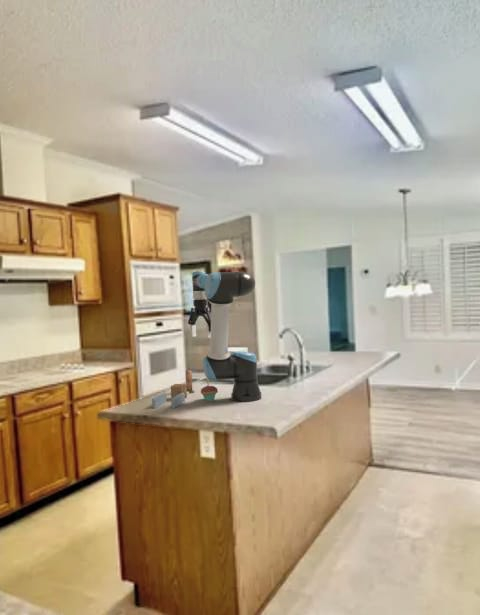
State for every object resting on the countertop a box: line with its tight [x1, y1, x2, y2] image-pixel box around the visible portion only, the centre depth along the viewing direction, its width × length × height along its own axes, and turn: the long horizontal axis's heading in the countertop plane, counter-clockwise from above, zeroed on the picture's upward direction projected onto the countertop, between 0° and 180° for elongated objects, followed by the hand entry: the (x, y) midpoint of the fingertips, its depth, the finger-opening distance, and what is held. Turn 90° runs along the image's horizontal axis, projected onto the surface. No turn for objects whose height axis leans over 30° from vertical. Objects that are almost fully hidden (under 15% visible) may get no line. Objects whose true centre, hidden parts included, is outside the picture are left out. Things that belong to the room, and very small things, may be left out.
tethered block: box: [170, 370, 195, 400], centre depth 256 cm, size 20×6×12 cm, turn 165°
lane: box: [151, 392, 186, 410], centre depth 237 cm, size 14×11×4 cm
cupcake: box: [200, 378, 219, 402], centre depth 244 cm, size 9×8×12 cm
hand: (201, 337), depth 273 cm, fingers open, 13 cm apart
